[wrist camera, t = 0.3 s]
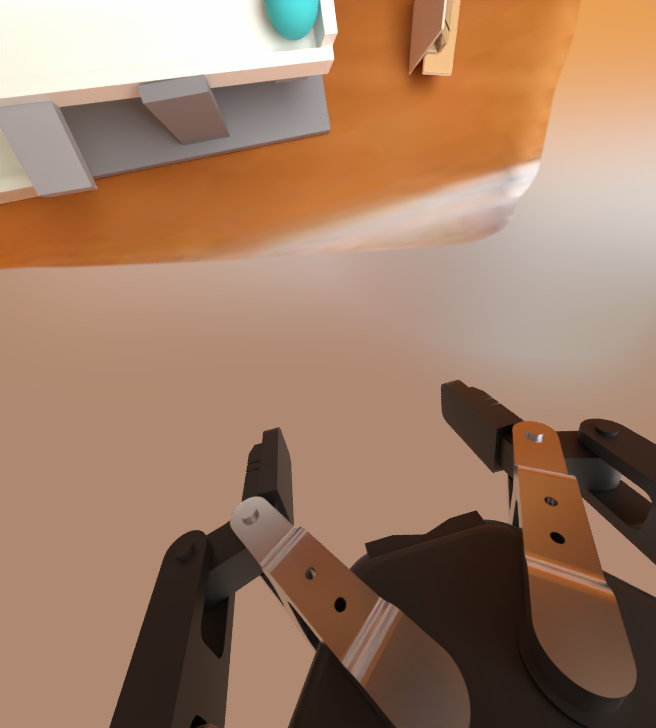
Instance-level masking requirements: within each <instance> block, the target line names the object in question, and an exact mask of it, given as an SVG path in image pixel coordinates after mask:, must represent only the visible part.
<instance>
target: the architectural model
mask: <svg viewBox="0 0 656 728" xmlns="http://www.w3.org/2000/svg"><path fill="white" fill-rule="evenodd" d="M459 8H460V0H415V2H414V5H413V19H412V32H411V46H410V59H409V73H408V74H411V73H412V71H413V70H414V69H415V67H416V66H417V65H418V63H419V62H420V61H421V59H422V58H423V69H422V74H427V75H442V76H450V75H451V74H452V66H453V57H454V49H455V41H456V33H457V24H458V16H459ZM438 36H440V37H439V38H440V39H439V49H438V46H437V45H438V44H437V43H438V42H437V41H435V40H437V38H438ZM436 42H437V43H436ZM423 56H424V57H423Z"/></svg>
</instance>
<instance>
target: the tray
mask: <svg viewBox="0 0 656 728" xmlns="http://www.w3.org/2000/svg"><path fill="white" fill-rule="evenodd" d="M33 197H38V194H37V192H36V191H35V189H34V187H33V185H32V183H31V182H30V180H29V178H28V176H27V174H26V173H25V171H24V169H23V167H22V166H21V164H20V162H19V160H18V158H17V157H16V155H15V153H14V151H13V149H12V148H11V146H10V144H9V142H8V141H7V139H6V137H5V135H4V133H3V132H2V130H1V128H0V204H3V203H8V202H13V201H18V200H23V199H28V198H33Z"/></svg>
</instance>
